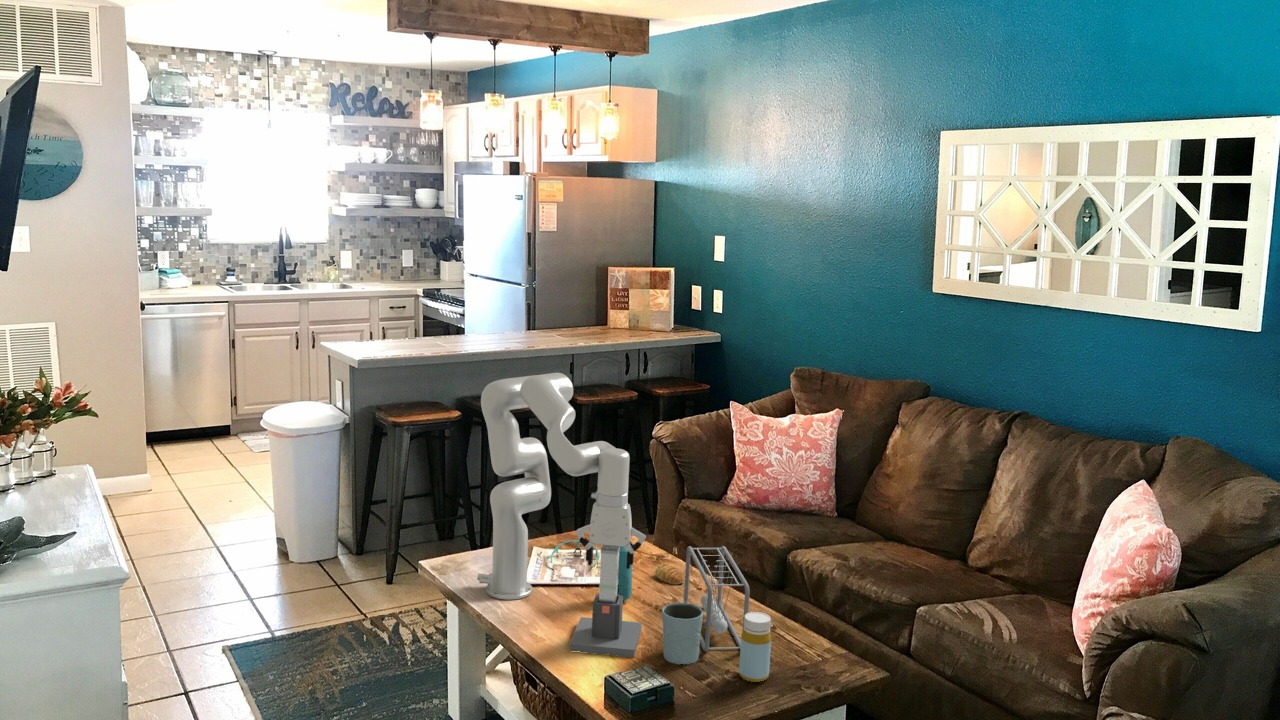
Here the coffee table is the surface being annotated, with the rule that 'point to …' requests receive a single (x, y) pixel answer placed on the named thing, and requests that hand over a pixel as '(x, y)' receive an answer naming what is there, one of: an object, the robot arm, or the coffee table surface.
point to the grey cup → (681, 632)
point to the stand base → (606, 631)
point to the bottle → (755, 647)
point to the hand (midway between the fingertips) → (609, 565)
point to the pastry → (669, 574)
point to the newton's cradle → (709, 600)
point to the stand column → (609, 574)
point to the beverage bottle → (624, 575)
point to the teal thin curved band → (575, 550)
